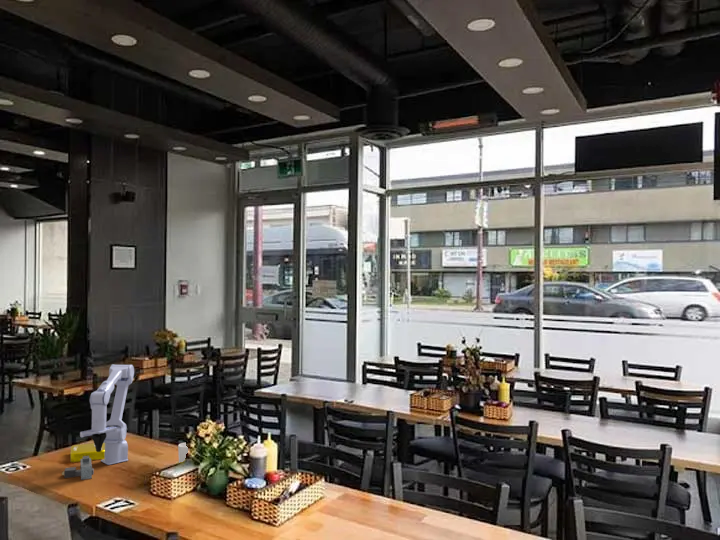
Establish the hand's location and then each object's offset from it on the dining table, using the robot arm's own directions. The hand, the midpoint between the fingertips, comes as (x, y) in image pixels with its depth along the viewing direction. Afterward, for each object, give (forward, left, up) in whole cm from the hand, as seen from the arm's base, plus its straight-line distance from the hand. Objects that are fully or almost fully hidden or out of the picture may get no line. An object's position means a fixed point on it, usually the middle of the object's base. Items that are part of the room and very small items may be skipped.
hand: (98, 451), depth 251 cm
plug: (+7, -3, -10) cm, 12 cm away
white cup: (-32, +19, -10) cm, 38 cm away
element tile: (-7, -27, -10) cm, 30 cm away
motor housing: (+4, -2, -10) cm, 11 cm away
